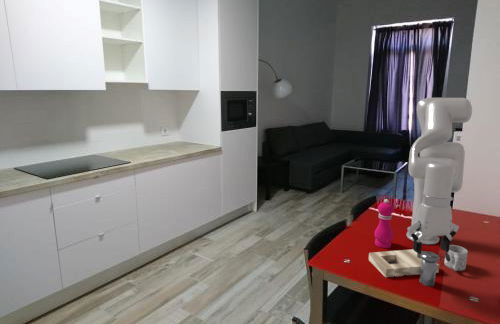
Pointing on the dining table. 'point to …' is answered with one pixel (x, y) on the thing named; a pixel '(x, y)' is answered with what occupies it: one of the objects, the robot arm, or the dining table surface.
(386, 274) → the jig
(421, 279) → the silver domed cylinder
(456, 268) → the mug
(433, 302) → the dining table surface
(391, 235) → the pepper mill
